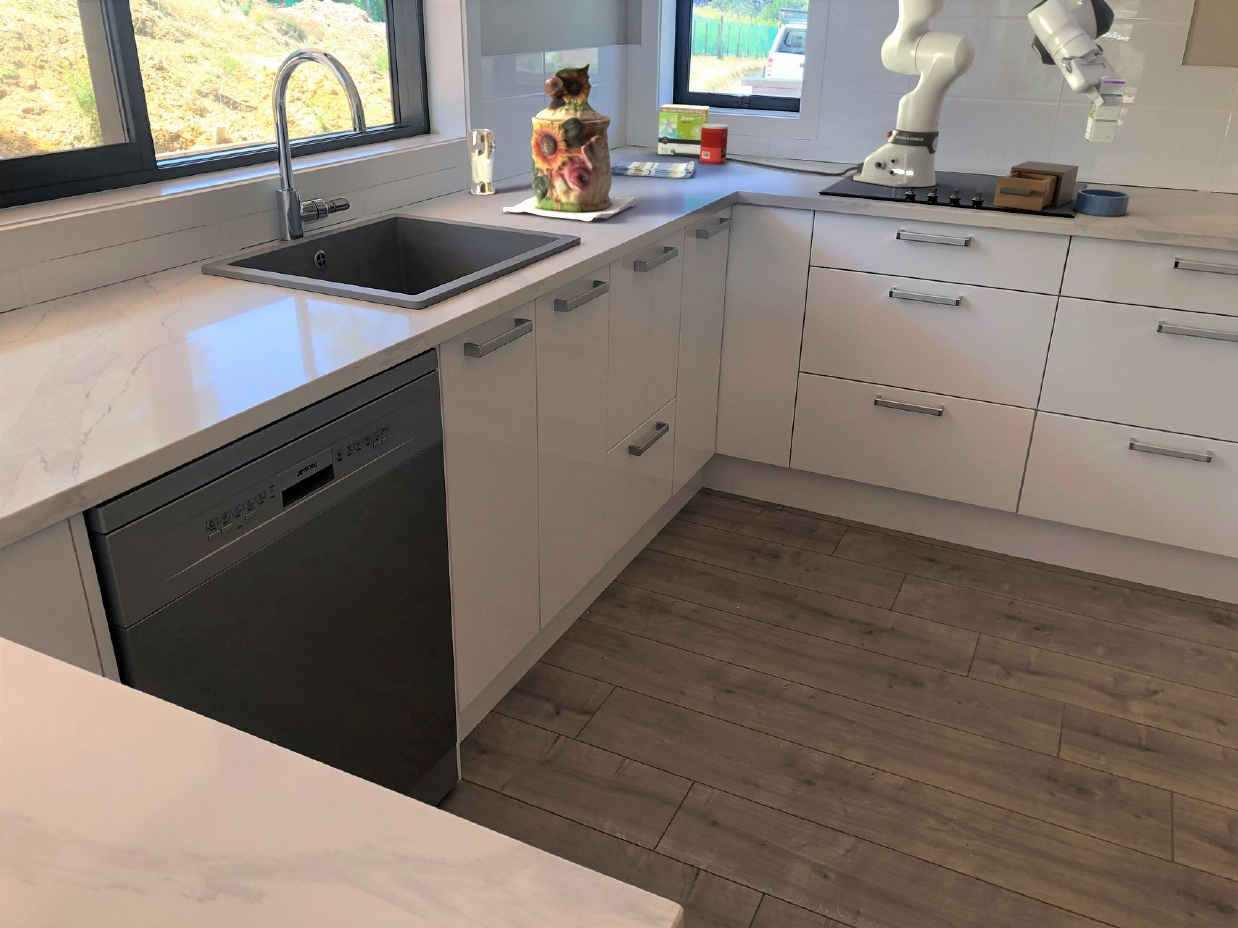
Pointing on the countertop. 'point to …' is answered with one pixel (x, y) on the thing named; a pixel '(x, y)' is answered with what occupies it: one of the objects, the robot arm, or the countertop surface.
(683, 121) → the tea box
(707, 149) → the canned food
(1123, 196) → the bowl
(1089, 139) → the syrup box
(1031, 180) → the drawer
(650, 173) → the dish towel
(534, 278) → the countertop surface
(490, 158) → the beer glass
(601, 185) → the cookie jar
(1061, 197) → the cabinet
